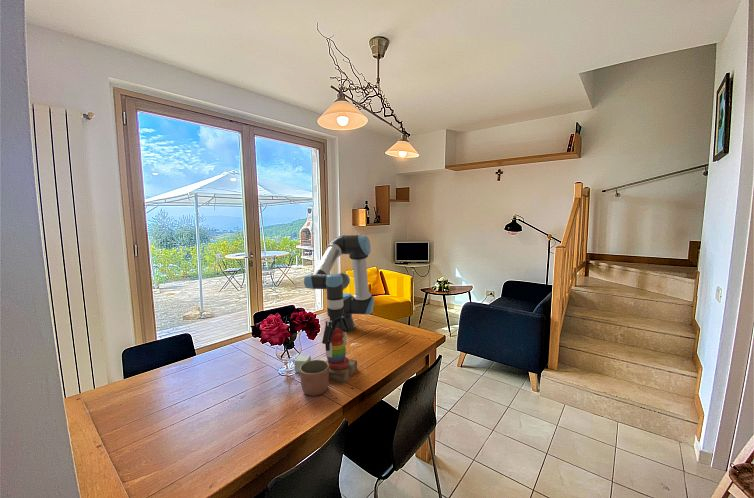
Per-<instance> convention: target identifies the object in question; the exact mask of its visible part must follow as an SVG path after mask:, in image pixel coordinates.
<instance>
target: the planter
mask: <svg viewBox="0 0 754 498" xmlns="http://www.w3.org/2000/svg"><path fill="white" fill-rule="evenodd" d="M326 361H327V360H321V359H312V360H311V361H308V362H306V363H304V364H302V365H301V367H300V373H299V374H300V375H299V376H300V377H299V379H300V386H301V389H302V391H303V393H304V394H305V395H307V396H311V397H314V396H315V397H316V396H320V395H321V394H324V393H325V392H326V391H327V390H328V388H329V385H330V381H329V364H328V363H327V362H326Z"/></svg>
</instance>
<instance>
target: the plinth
mask: <svg viewBox="0 0 754 498" xmlns="http://www.w3.org/2000/svg"><path fill="white" fill-rule="evenodd" d="M325 361H326V362H328V359H327V360H325ZM346 364H347V368H345V369H333V368H329V382H332V383H337V384H342V385H345V384H346V383H347V382H348V380H349V379H350V378H351V377H352V376H353V374H354V373H355V372H356V371H357V370H358V360H356V359H350V358H348V362H347V363H346Z"/></svg>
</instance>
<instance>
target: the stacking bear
mask: <svg viewBox="0 0 754 498" xmlns="http://www.w3.org/2000/svg"><path fill="white" fill-rule="evenodd" d="M344 335H345V334H344V332H342V331H341V329H339V328H336V330H334V333H333V336H332V339H331V342H330V343H332V357H327V356H326V358H327V360H328V362H327V363H328V364H329V368H333V369H345V368H347V364H346V363H347V362H348V359H349V358H348V357H347V356H346V355H347V349H346V348H347V347H346V345H345V344H344V340H343V337H344Z"/></svg>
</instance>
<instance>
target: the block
mask: <svg viewBox="0 0 754 498" xmlns="http://www.w3.org/2000/svg"><path fill="white" fill-rule="evenodd" d="M311 359H312V357H311V355H309V354H308V355H305V354H304V355H302V354H299V355H297V357H296V358H295V359H294V361H293V363H294V365H293V366H294V372H295V371H296V372H295V373H299V374H300V367H301V365H302V364H304V363H306V362H308V361H312V360H311Z"/></svg>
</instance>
